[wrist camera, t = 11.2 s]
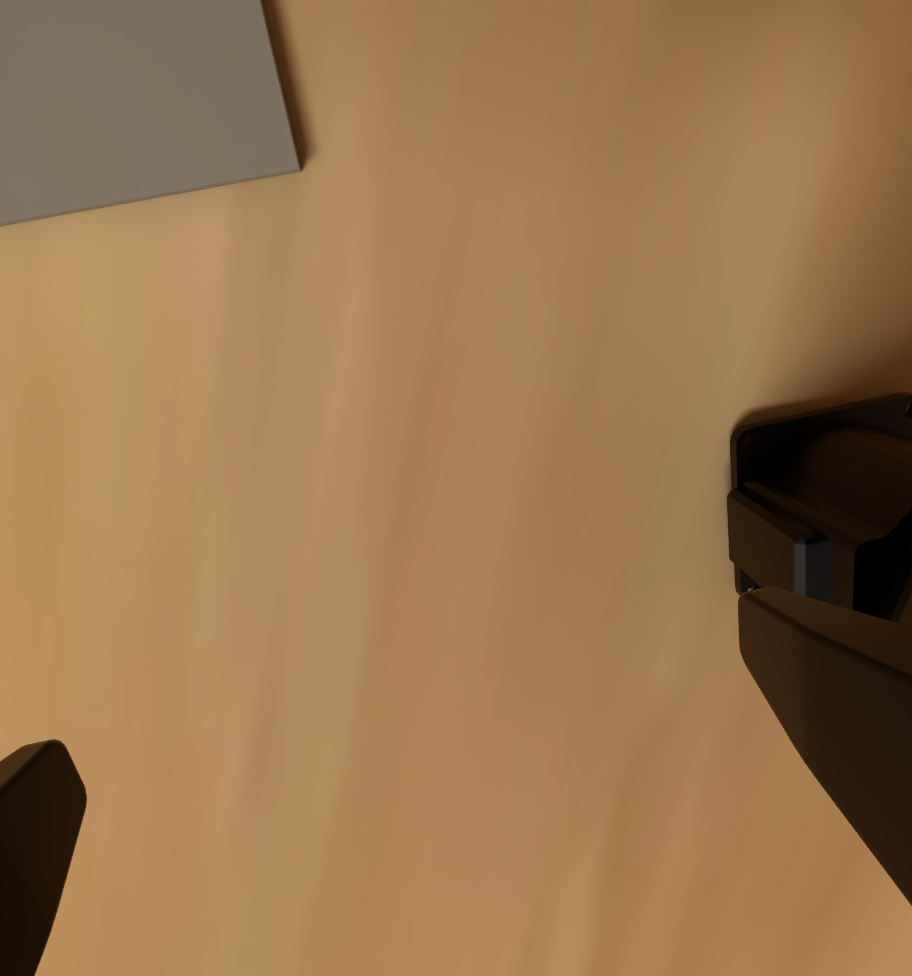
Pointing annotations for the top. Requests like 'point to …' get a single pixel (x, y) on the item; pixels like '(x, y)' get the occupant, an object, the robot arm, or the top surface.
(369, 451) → the top surface
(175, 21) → the mat
